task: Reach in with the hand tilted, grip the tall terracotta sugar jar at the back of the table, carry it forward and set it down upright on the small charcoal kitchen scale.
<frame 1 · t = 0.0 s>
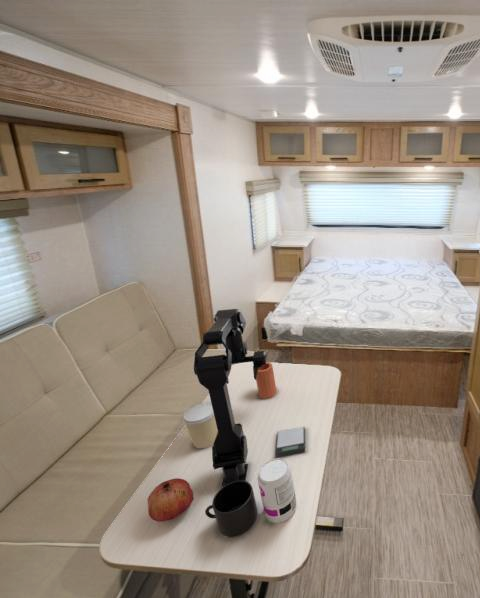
hand: (241, 381, 123), 15 cm above the table, tool pointing down, fingers open, 9 cm apart
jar: (267, 393, 140), on the table
mug: (233, 521, 90), on the table
supplement can: (281, 510, 93), on the table
fruit: (175, 511, 93), on the table
scale: (291, 443, 115), on the table
coffee cup: (206, 440, 117), on the table
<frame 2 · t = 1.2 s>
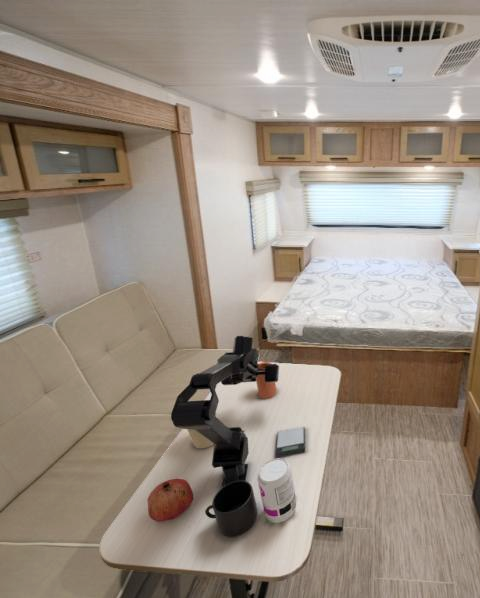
hand: (257, 378, 128), 13 cm above the table, tool tilted 45°, fingers open, 9 cm apart
nothing on the table moved.
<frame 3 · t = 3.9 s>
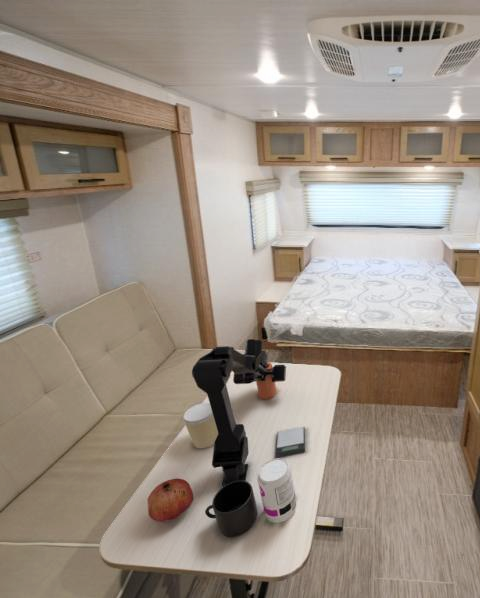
hand: (266, 378, 138), 7 cm above the table, tool tilted 45°, fingers closed on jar, 7 cm apart
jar: (267, 393, 140), on the table, touching gripper
everything else where it was.
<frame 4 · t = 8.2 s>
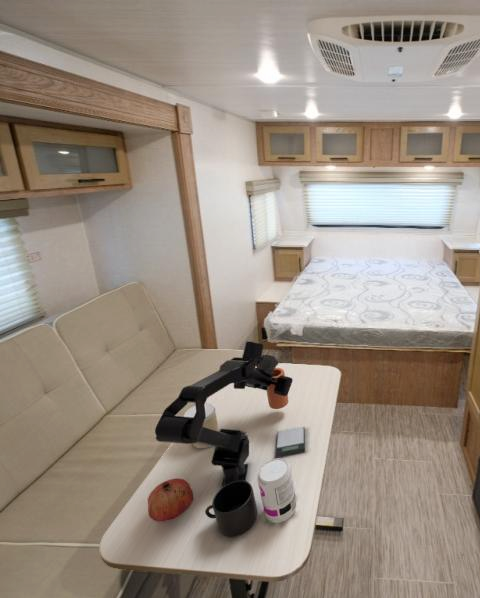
hand: (279, 386, 124), 12 cm above the table, tool tilted 45°, fingers closed on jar, 7 cm apart
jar: (278, 403, 125), point 6 cm above the table, touching gripper
everything else where it was.
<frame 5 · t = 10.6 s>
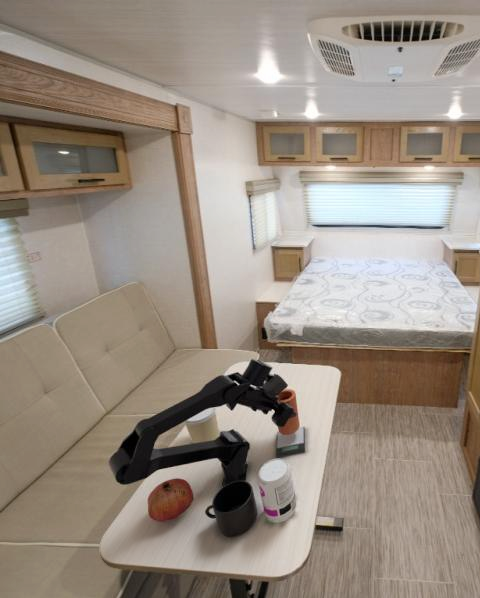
hand: (290, 409, 112), 12 cm above the table, tool tilted 45°, fingers closed on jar, 7 cm apart
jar: (289, 427, 114), point 6 cm above the table, touching gripper
everything else where it was.
when the fingers open (9 cm above the table, at t = 12.6 s): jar stays where it is, resting on scale.
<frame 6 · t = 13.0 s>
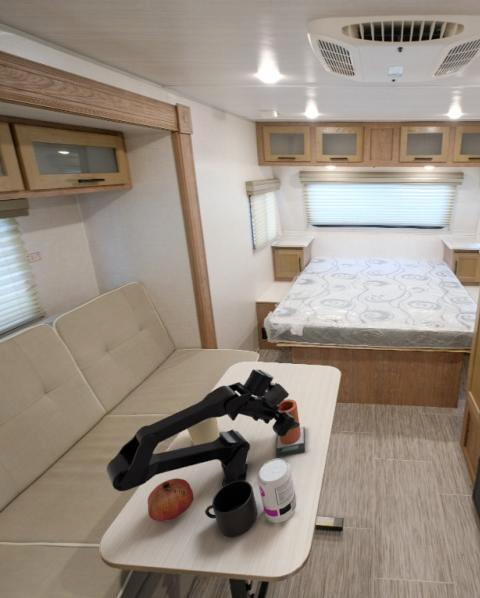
hand: (292, 418, 113), 9 cm above the table, tool tilted 45°, fingers open, 9 cm apart
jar: (290, 436, 115), point 2 cm above the table, touching scale
everything else where it was.
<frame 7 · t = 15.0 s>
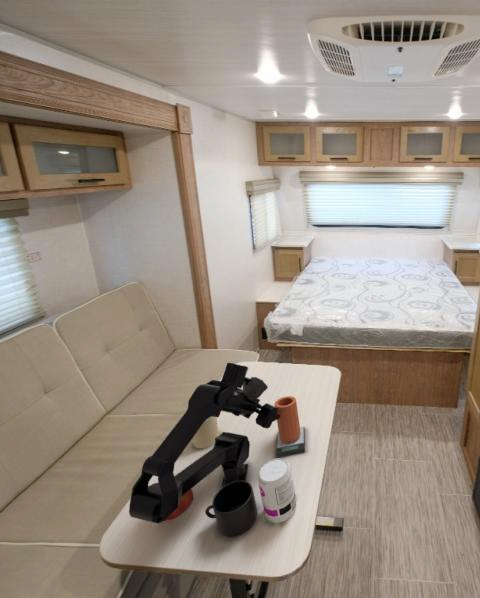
hand: (269, 411, 111), 13 cm above the table, tool tilted 45°, fingers open, 9 cm apart
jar: (290, 435, 115), point 3 cm above the table, tilted 8°, touching scale
everything else where it was.
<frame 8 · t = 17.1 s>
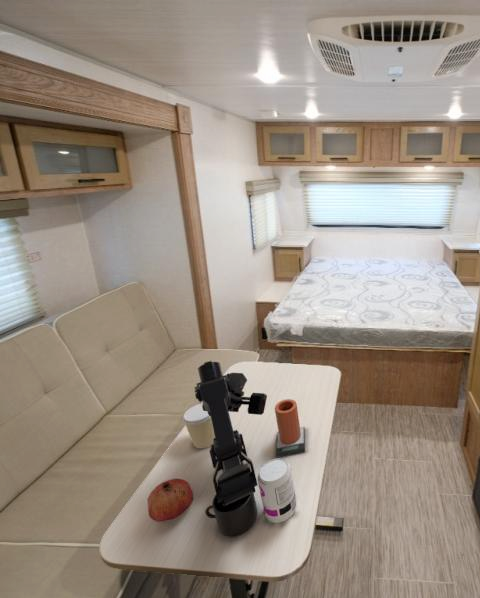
hand: (247, 405, 113), 14 cm above the table, tool tilted 45°, fingers open, 9 cm apart
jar: (290, 436, 115), point 2 cm above the table, touching scale
everything else where it was.
at the end: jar inside the target area on the scale (0.2 cm from its centre), point 2.1 cm above the scale's base; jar tilted 0°; the gripper is holding nothing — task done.
